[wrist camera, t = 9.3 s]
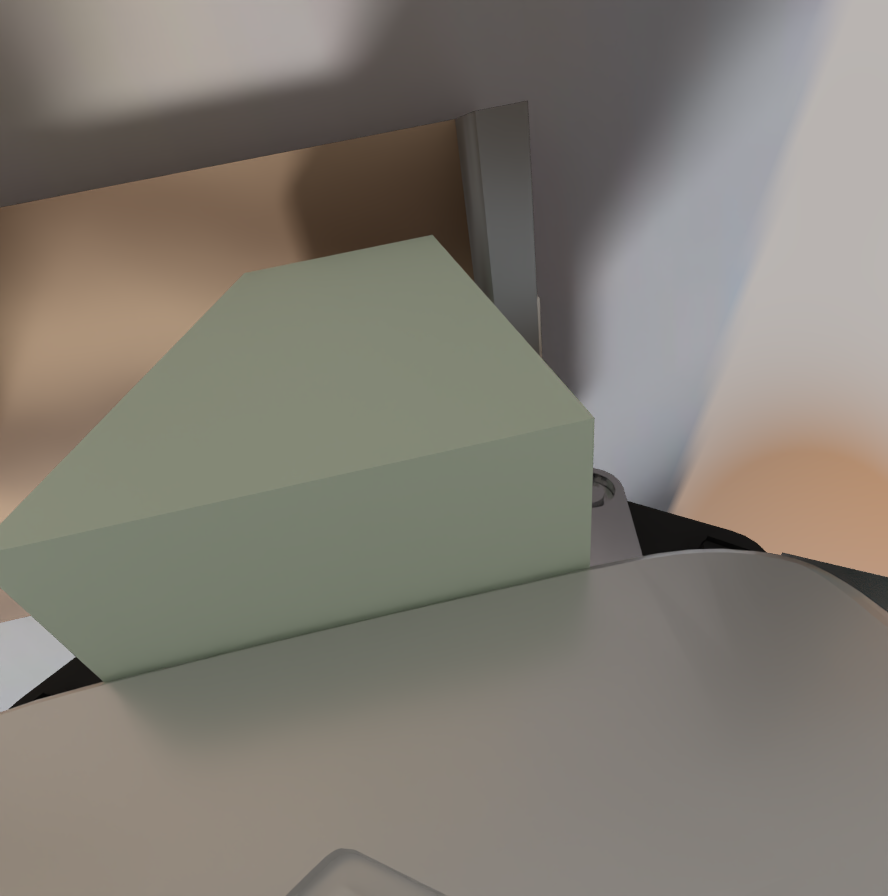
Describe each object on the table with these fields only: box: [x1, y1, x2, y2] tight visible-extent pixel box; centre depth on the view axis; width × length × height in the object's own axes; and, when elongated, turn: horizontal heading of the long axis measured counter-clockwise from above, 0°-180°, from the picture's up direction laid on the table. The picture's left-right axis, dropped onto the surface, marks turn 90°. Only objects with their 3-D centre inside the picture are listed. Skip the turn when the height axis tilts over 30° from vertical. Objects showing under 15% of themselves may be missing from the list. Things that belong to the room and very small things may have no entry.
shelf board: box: [0, 101, 542, 623], centre depth 15 cm, size 14×30×5 cm, turn 99°
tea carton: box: [0, 235, 594, 682], centre depth 10 cm, size 5×9×10 cm, turn 9°
